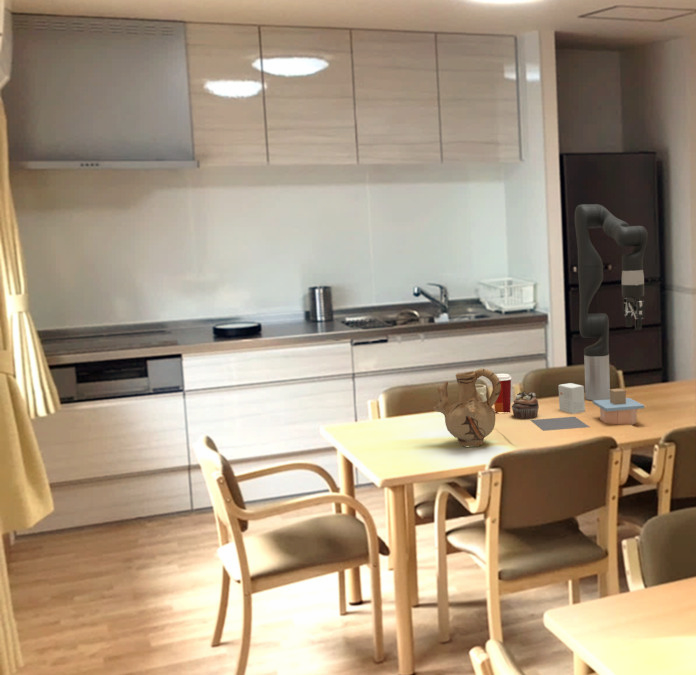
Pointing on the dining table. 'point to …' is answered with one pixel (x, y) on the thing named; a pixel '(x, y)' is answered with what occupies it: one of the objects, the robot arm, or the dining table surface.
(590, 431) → the dining table surface
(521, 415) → the cupcake
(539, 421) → the mat
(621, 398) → the lid
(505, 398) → the paper cup
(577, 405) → the small box
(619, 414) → the bowl
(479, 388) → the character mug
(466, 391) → the ceramic vessel
